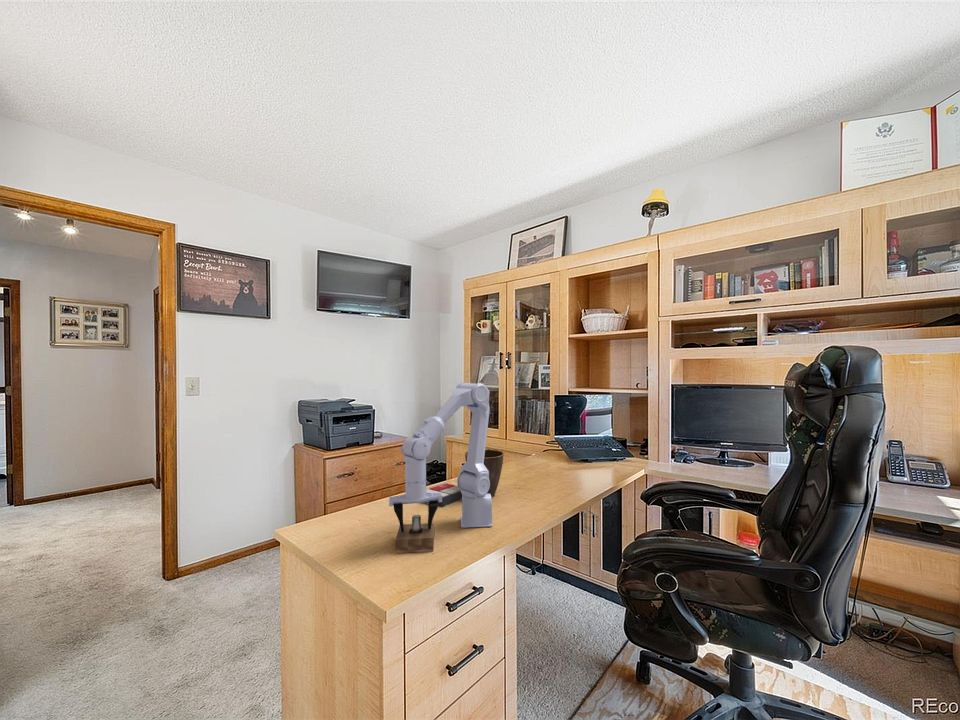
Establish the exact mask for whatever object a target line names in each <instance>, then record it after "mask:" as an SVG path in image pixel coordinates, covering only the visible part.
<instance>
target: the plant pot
mask: <svg viewBox="0 0 960 720" xmlns="http://www.w3.org/2000/svg"><path fill="white" fill-rule="evenodd" d="M467 454H468V451H466V452H465V453H464V457H465V463H466V462H467ZM504 455H505V454H504V452H503V451H501V450H496V449H485V456H484V465H485V467H486V468H487V470H488V471H489V481H490V488H489V490H488V492H487V494H491V498H493V497H495V496H496V492H497V489H498V485H499V483H500V479H501V474H502V469H503V462H504Z"/></svg>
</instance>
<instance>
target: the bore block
mask: <svg viewBox="0 0 960 720" xmlns="http://www.w3.org/2000/svg"><path fill="white" fill-rule="evenodd" d="M403 526H404V532H401V527H400V525H399V527H398V528H397V529H398V530H397V532H396V537H395V540H394V541H395V543H394V544H395V550H394V551H395V553H396V554H401V553H403V554H404V553H421V552H424V553H425V552H434V548H435V546H434V545H435V537H436V536H435V534H436V533H435V529H436V527H435V522H432V525H431V529H428V522H427V523H421V533H420V534H412V523H405V524H404V523H403Z"/></svg>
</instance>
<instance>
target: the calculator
mask: <svg viewBox="0 0 960 720" xmlns="http://www.w3.org/2000/svg"><path fill="white" fill-rule="evenodd" d="M426 493H441V494H442V502H438V508H444V506H445V507H447V506H449V505H451V504H452V503H454V502H457V501H460V500H462V493H461V489H459V487H458V485H455V484H451V483H447V482H446V483H443V484H440V485H436V486H434V487H430V488H426ZM427 503H428V502H425V503H424V504H427ZM446 505H447V506H446Z"/></svg>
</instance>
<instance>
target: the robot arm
mask: <svg viewBox="0 0 960 720" xmlns="http://www.w3.org/2000/svg"><path fill="white" fill-rule="evenodd" d="M490 392H491V391H490V390H489V389H488V387H487V386H486V385H485V384H484V383H482V382H479V383H470V382H469V383H468V382H459V383H458V384H456V386H455V388H453V389H452V392H451V395H450V396H449V398H448V399H447V400H446V402H445V403H444V404H443V405H442V407H441V408H440V409H439V411H438V412H437V413H436V414H435V416H428V418H425V419H424V420H423V422H424V423H423V424H422V425H420V427H419V428H418V429H417V430H416V431H414V432H413V434H412V436H408V437H406V439H405V440H404V441H403V443H402V446H401V447H400V451H401V453H402V455H403V456H404V463H405V466H404V467H405V469H404V470H405V471H404V476H405V478H404V479H405V481H404V482H405V484H404V485H405V494H401V495H395V496H388V497H389V498H388V506H389V507H393V510H394V513H395V515H396V517H397V519H398V520H397V521H398V523H399V526H400V527H401V532H404V526H403V524H404V508H403V507H404V505H408V504H409V505H410V504H411V505H412V504H423V503H424V504H426V503H425V502H428V504H427V511H428V512H427V515H428V516H427V523H428V529H431V525H432V523H433V519H434V516H435V514H436V512H437V510H438V508H439V507H438V502H442V494H441V493H426V490H427V457H428V456H429V455H430V452H431V448H432V446H433V444H434V442H435V441H436V440H437V439H438V438H439V437H440V435H441V434H442V433H443V432H444V430H445V423H447V422H448V421H449V419H450V418H451V417H452V416H454V415H455V413H456V412H458V410H459V409H461V407H467V408H468V410H470V412H471V421H470V428H469V429H470V430H469V439H468V446H467V452H468V454H467V462H466V461H465V463H464V464H463V465H461V467H460V471H459V474H458V476H457V479H456V484H457V485H456V486H458V487H459V489H461V493H462V499H461V516H460V526H461V528H467V529H468V528H488V527H491V528H492V527H493V504H492V502H493V501H492V497H491V494H487V492H488V490H489V488H490V481H489V471H488V470H487V468H486V467H485V465H484V456H485V450H486V448H487V447H486V446H487V437H488V428H489V427H488V426H489V418H490V409H491V408H490V403H489V402H490Z"/></svg>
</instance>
